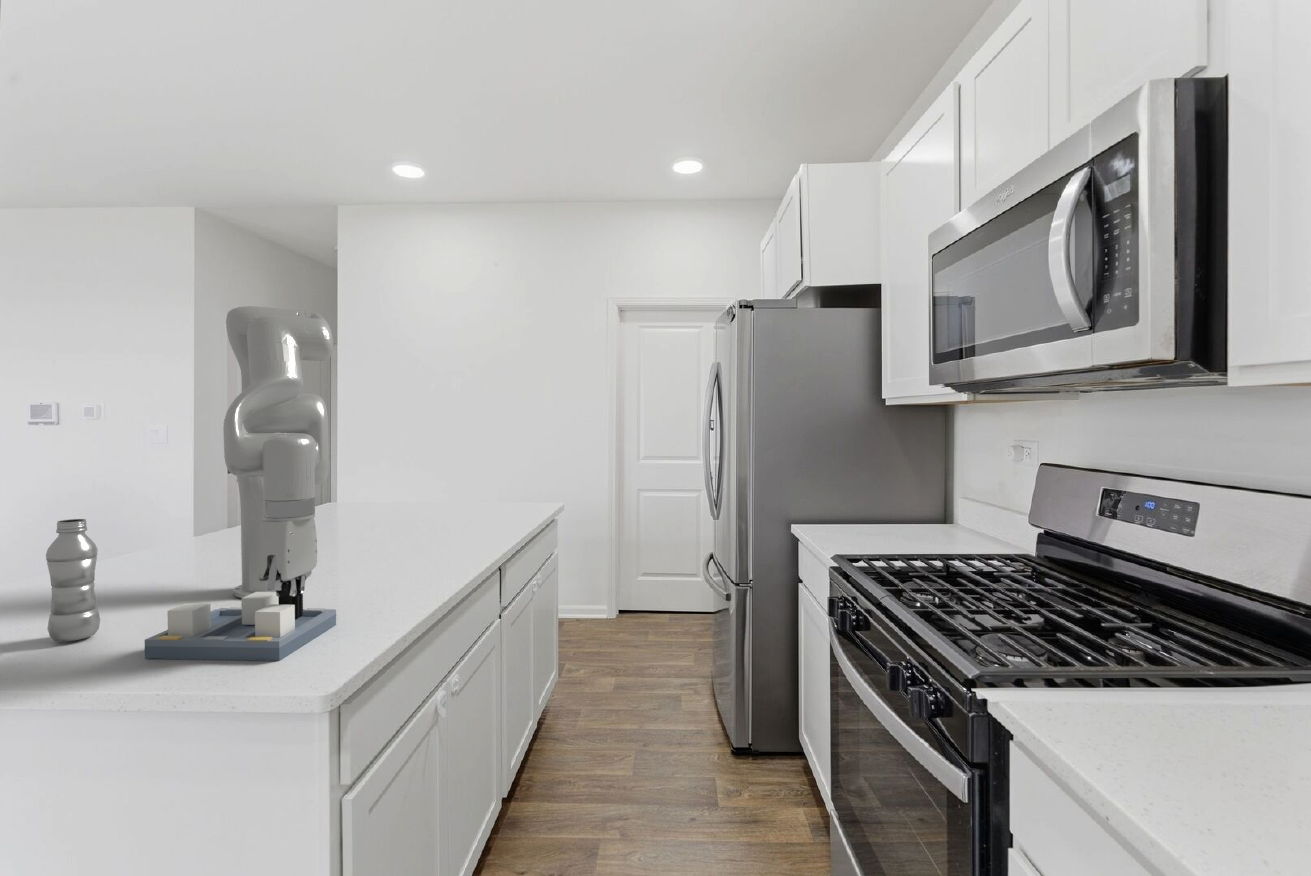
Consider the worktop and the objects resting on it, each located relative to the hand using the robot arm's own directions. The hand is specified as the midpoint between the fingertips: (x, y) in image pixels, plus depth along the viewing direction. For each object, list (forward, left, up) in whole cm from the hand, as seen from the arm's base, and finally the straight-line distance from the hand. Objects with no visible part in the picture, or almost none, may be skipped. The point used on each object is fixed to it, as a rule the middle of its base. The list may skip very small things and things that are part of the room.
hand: (290, 617), depth 108 cm
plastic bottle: (+1, -36, -4) cm, 36 cm away
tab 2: (-3, -7, -2) cm, 8 cm away
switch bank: (+1, -7, -4) cm, 8 cm away
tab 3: (+4, 0, -2) cm, 5 cm away
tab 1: (+4, -14, -2) cm, 15 cm away
